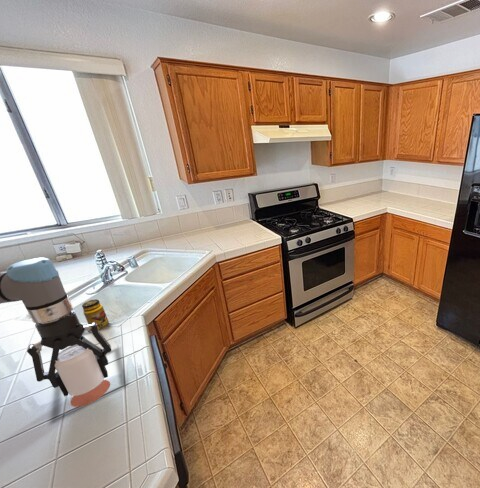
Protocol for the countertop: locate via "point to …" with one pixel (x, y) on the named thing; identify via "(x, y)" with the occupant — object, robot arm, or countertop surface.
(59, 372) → the white upturned tub
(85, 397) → the mat
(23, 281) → the robot arm
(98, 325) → the condiment
